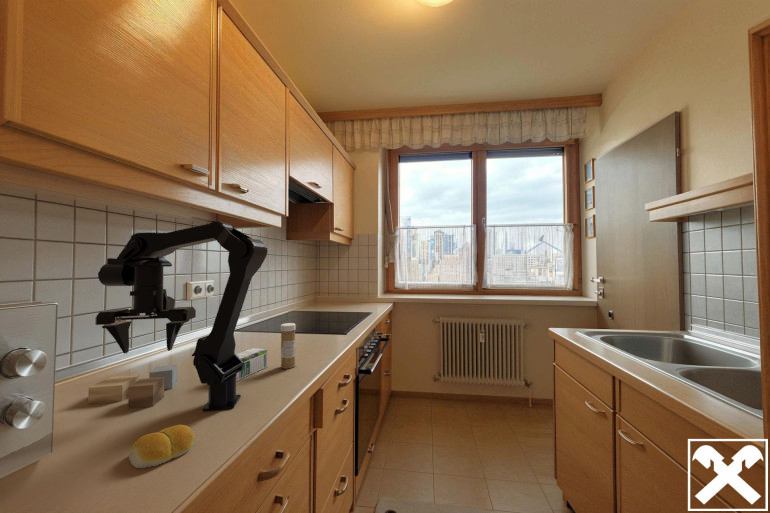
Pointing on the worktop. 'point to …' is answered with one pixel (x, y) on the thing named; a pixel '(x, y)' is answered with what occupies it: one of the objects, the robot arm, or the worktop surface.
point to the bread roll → (161, 446)
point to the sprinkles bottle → (288, 345)
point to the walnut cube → (145, 392)
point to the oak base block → (111, 389)
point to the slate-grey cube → (166, 375)
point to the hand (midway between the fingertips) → (148, 351)
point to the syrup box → (252, 362)
